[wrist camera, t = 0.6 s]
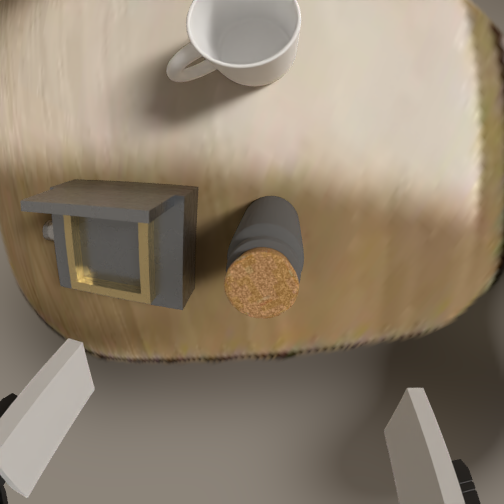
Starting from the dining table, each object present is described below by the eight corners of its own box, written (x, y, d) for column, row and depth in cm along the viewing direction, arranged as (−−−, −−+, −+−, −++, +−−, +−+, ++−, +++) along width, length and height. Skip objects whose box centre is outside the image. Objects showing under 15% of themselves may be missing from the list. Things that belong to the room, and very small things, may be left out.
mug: (203, 117, 31) (169, 112, 21) (170, 54, 29) (128, 28, 19) (310, 68, 28) (321, 41, 19) (273, 4, 26) (268, -42, 16)
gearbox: (57, 179, 35) (-4, 199, 24) (198, 186, 34) (161, 212, 23) (64, 266, 39) (14, 304, 29) (194, 288, 38) (164, 343, 28)
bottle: (293, 190, 33) (300, 235, 19) (302, 244, 35) (313, 320, 21) (238, 200, 34) (204, 251, 20) (249, 252, 36) (226, 331, 22)
